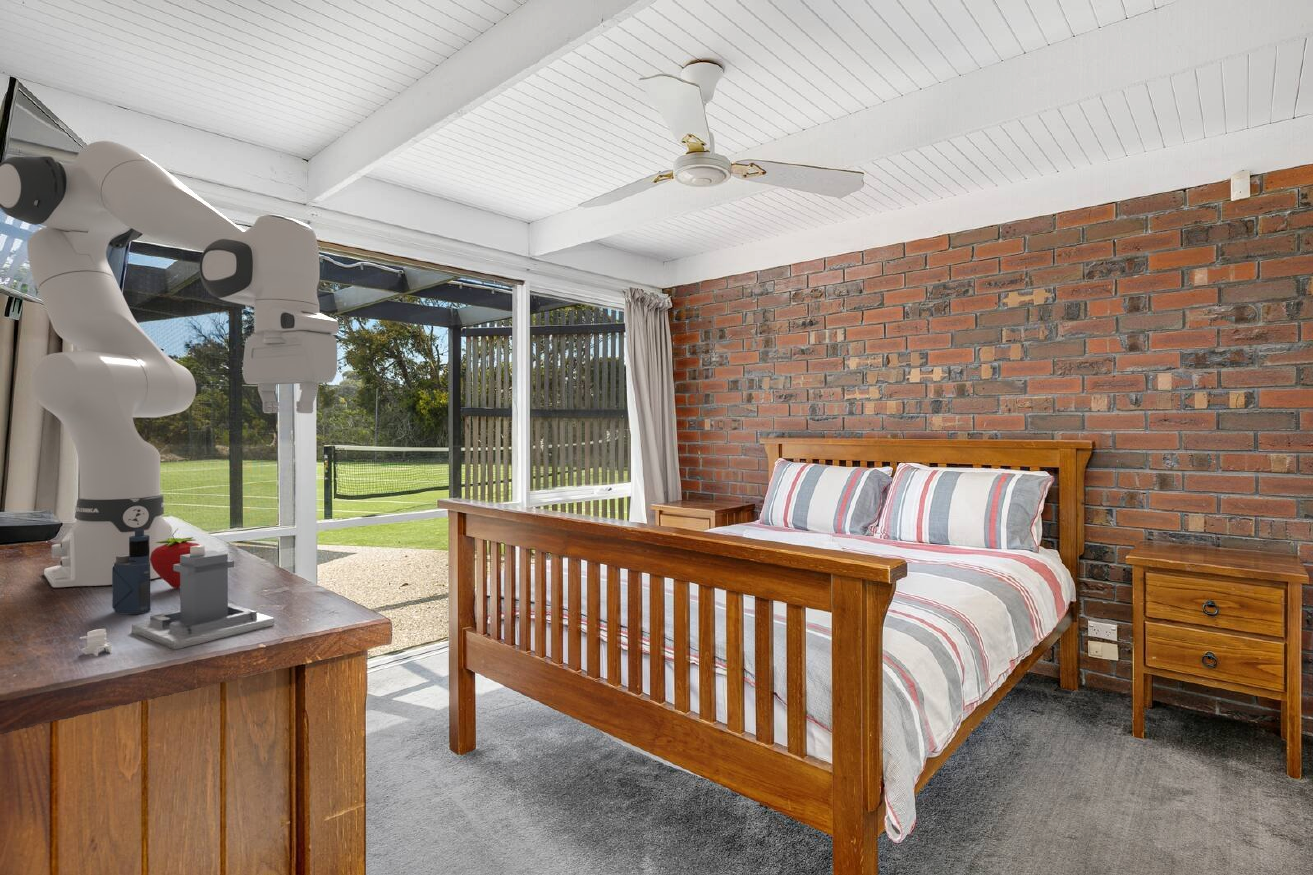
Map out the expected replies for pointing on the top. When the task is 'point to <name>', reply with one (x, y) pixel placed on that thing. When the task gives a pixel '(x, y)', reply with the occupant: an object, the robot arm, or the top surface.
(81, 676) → the top surface
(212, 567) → the block
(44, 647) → the top surface
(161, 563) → the strawberry
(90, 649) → the power adapter
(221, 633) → the plate
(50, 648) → the top surface
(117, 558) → the vaping device
